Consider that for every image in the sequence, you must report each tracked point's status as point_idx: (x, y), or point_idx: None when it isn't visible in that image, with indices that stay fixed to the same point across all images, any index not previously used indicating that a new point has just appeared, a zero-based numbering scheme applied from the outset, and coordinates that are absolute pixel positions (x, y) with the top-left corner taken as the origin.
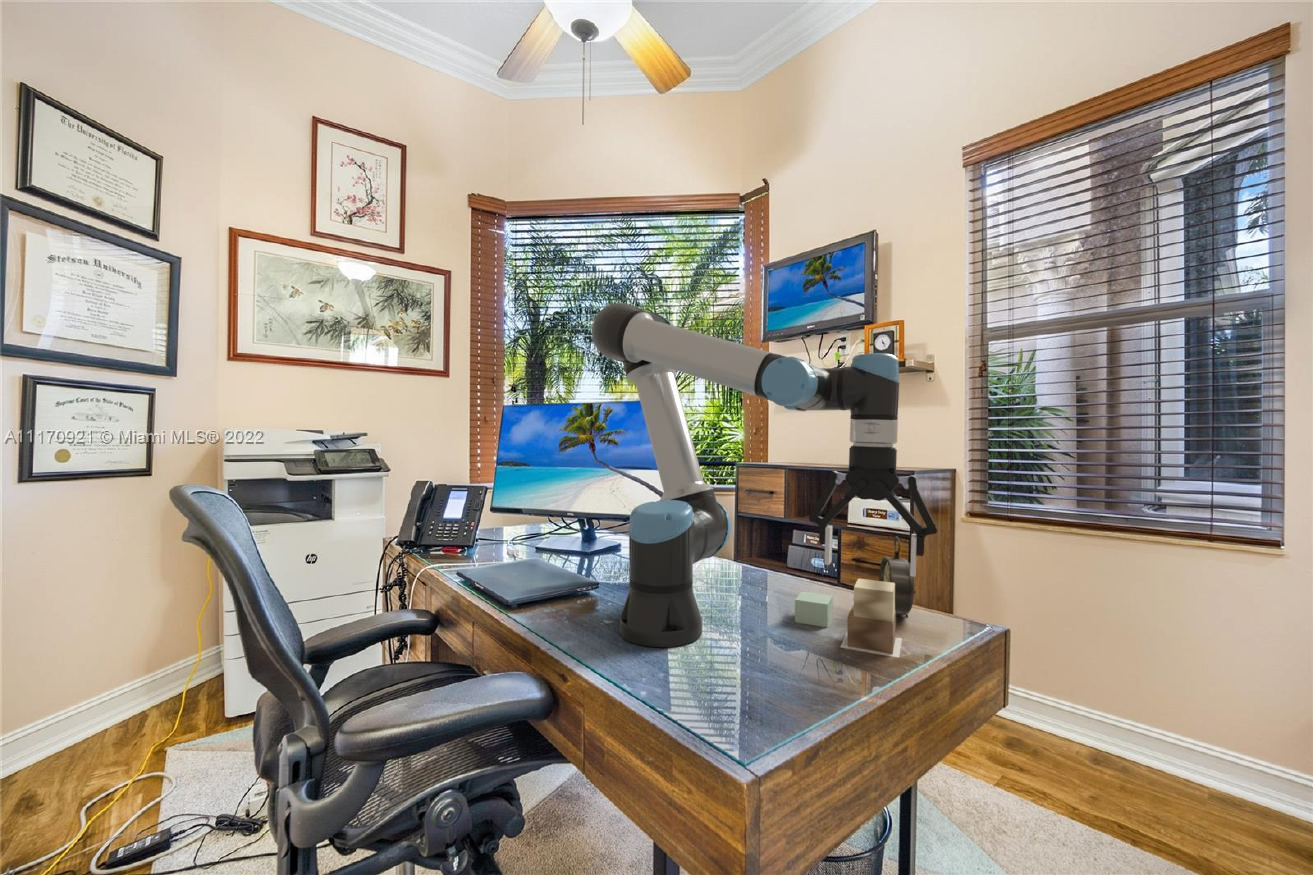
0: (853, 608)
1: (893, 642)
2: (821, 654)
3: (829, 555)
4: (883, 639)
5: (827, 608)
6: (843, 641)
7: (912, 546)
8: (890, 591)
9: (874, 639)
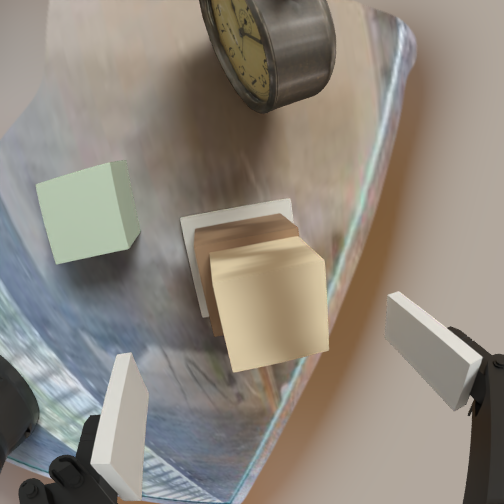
0: (205, 276)
1: None
2: (183, 345)
3: (144, 411)
4: None
5: (130, 246)
6: (196, 289)
7: (438, 389)
8: (323, 349)
9: None
